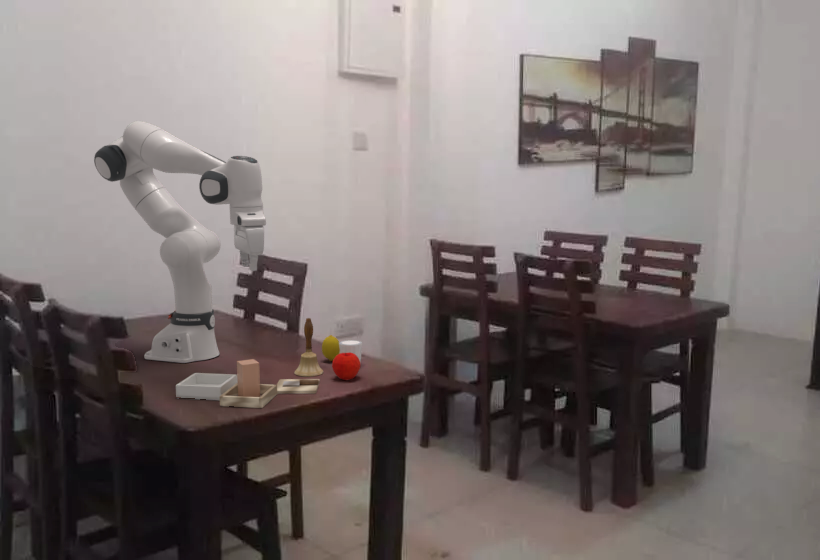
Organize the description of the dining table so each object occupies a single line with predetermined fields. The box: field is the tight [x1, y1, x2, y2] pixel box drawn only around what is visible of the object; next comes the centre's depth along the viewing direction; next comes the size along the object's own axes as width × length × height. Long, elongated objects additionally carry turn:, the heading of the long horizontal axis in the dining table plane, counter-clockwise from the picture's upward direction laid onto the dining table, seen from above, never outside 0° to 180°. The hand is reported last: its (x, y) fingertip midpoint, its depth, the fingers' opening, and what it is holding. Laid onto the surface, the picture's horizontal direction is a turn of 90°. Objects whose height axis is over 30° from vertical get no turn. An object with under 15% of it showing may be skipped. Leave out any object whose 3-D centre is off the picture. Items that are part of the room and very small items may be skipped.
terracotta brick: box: [236, 358, 261, 397], centre depth 213 cm, size 4×4×10 cm
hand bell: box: [294, 317, 324, 378], centre depth 238 cm, size 8×8×16 cm
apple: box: [331, 353, 361, 381], centre depth 233 cm, size 8×8×7 cm
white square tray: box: [175, 372, 238, 401], centre depth 219 cm, size 12×12×4 cm
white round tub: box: [339, 339, 363, 366], centre depth 247 cm, size 7×7×7 cm
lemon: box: [321, 334, 340, 362], centre depth 252 cm, size 6×6×8 cm
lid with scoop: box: [276, 378, 321, 395], centre depth 224 cm, size 11×11×2 cm
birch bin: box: [219, 382, 278, 409], centre depth 213 cm, size 11×12×2 cm
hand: (249, 268), depth 226 cm, fingers open, 8 cm apart
